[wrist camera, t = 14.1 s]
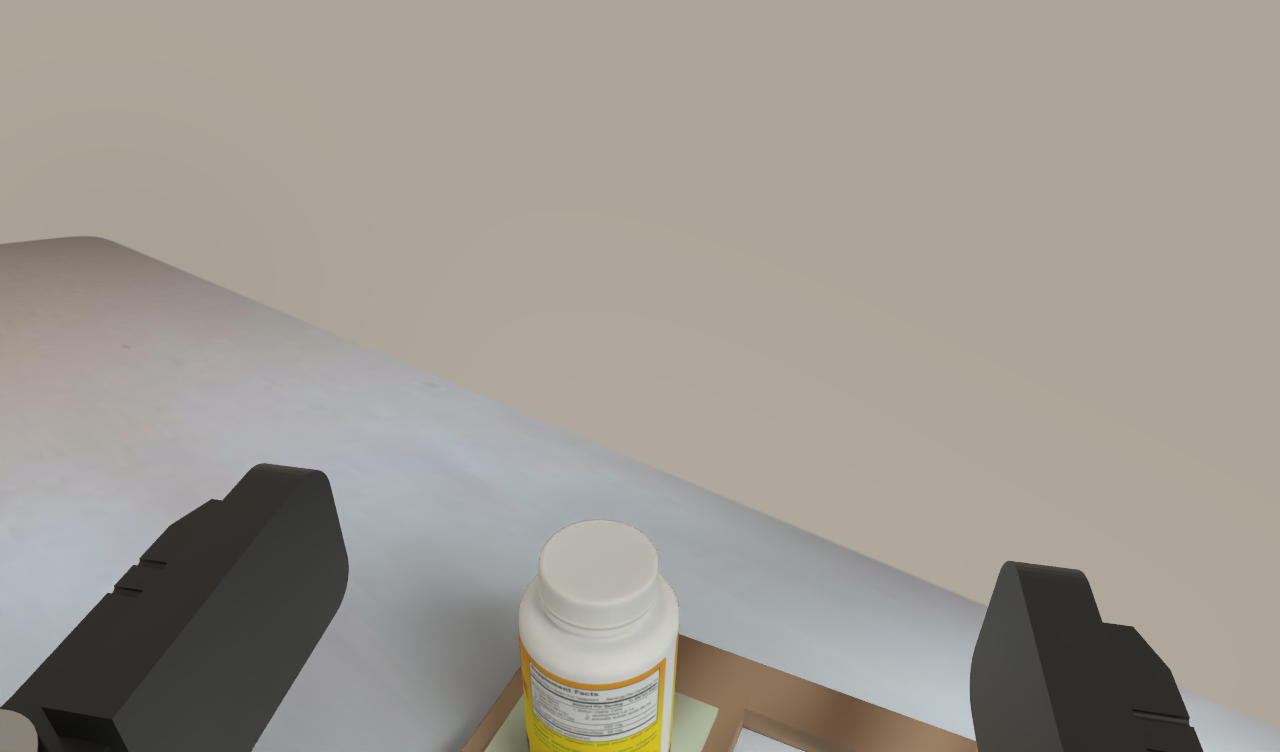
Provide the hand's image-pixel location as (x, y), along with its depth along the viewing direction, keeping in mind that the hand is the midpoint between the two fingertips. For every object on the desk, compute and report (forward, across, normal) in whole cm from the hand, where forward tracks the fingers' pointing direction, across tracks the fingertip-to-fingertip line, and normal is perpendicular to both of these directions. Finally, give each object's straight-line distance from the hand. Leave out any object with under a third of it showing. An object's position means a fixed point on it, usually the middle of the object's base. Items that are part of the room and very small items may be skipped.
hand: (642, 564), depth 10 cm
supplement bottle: (+12, +4, +23) cm, 27 cm away
